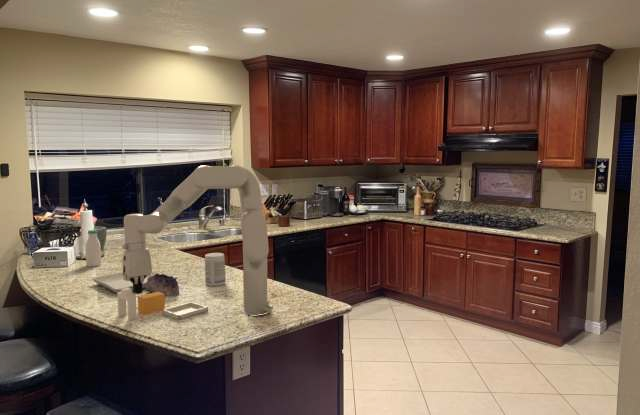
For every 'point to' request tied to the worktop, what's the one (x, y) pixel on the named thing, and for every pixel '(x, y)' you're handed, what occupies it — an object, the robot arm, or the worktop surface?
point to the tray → (185, 310)
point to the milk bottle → (93, 249)
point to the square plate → (117, 281)
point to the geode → (162, 285)
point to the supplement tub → (215, 269)
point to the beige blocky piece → (131, 299)
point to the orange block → (151, 303)
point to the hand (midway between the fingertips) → (138, 293)
